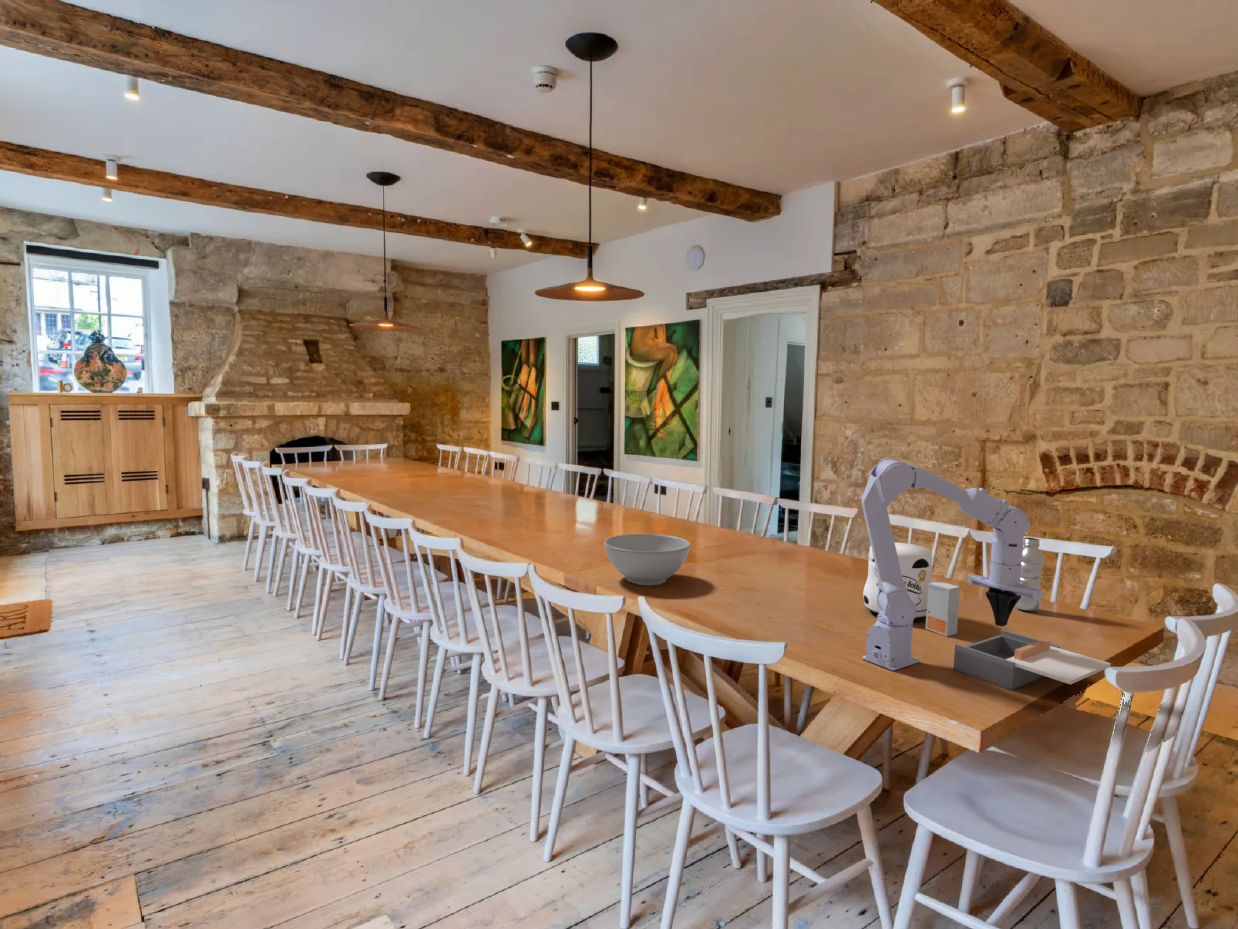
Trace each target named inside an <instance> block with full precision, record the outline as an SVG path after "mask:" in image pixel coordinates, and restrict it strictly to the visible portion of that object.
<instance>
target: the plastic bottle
mask: <svg viewBox="0 0 1238 929" xmlns="http://www.w3.org/2000/svg"><path fill="white" fill-rule="evenodd" d="M1039 547H1040V539H1039V538H1036V537H1024V539H1023V554H1022V565H1021V578H1020V584H1023V585H1026V586H1029V587H1032V588H1035V589H1038V590H1041V576H1042V571H1043V568H1044V563H1045V557H1044V554H1043V553H1042V551H1041V550H1040V549H1039ZM1041 603H1042V600H1039V601H1035V600H1032V599H1031V598H1027V597H1022V596H1021V598H1020V600H1019V601H1018V602H1017V604H1016V605H1015V607H1014V608H1016V609H1019V610H1022V611H1025V612H1037V611H1038V610H1039V609H1040V607H1041Z"/></svg>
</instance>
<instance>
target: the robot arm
mask: <svg viewBox="0 0 1238 929" xmlns="http://www.w3.org/2000/svg"><path fill="white" fill-rule="evenodd" d="M909 488H910V489H911V488H912V489H915V490H916V489H922V488H923V489H924V488H925V489H927V490H930V491H932V492H933V493H935V494H938V495H941V496H942V497H945V498H947V499H949V500H951V501H954V502H956V503H957V506H958V508H959V511H960V512H962V513H964V514H966V515H967V516H969V517H971V518H974V519H975V520H977V521H980V522H982V523H983V524H986V525H988V526H991V527H992V528H993V530H992V539H991V552H990V564H989V565H990V566H989V574H988V575H989V576H984V575H977V574H969V575H968V580H967V584H968V585H970V586H971V585H972V586H974V585H975V586H978V587H983V588H986V589H988V590H987V591H986V592H985V596H986V598H987V600H988V602H989V604H990V606H991V610H992V614H993V618H994V624H995V626H998V627H1005V626H1007V625H1008V621H1009V618H1010V616H1011V613H1013V609H1014V608H1016V607H1015V605H1016V604H1017V602H1018V601H1019V600H1020V598H1021V596H1022V597H1027V598H1031V599H1032V600H1035V601H1039V600H1041V601H1042V600H1043V593H1044V591H1043V590H1041V589H1040V590H1038V589H1035V588H1032V587H1029V586H1026V585H1023V584H1020V578H1021V565H1022V554H1023V547H1024V545H1023V543H1024V538H1025V537H1024V536H1025V534H1026V533H1027V532H1028V531H1029V530H1030V528H1031V522H1030V521H1029V520H1030V519H1029V517H1028V515H1027V513H1026V512H1025V511H1024V510H1022V509H1021V508H1018V507H1015V506H1013V505H1010V502H1009V501H1008V500H1006V499H1003V498H1002V499H998V497H994V495H993V496H992V494H989V493H988V491H989V490H987V489H984V488H983V487H979V488H976V487H972V488H967V489H965V488H962V487H960V486H959V485H956V484H955V483H953V482H952V481H951V482H950V481H948V480H947V479H945V478H943V477H941V476H939V475H937V474H935V473H934V472H931V471H930V470H927V469H925V468H921V467H918V466H916V465H912V464H909V463H906V462H903V461H899V460H897V459H895V458H884V459H882V460H880V461H878V463H877V464H876V465H875V466H874V467H873V468H872V470H870V471H869V476H868V480H867V483H866V486H865V489H864V492H863V494H862V497H861V499H860V500H861V507H862V511H863V515H864V520H865V525H866V529H867V533H868V538H869V543H870V546H871V548H872V552H873V556H874V561H875V565H876V570H877V574H878V589H879V590H878V595H877V603H878V606H879V607H880V608H881V611H880V613H879V615H878V614H877V618H876V622H875V623H874V624H873V625H872V626H870V627H869V628H868V630H867V632H866V644H865V649H866V650H865V655H863V656H862V657H861V658H862V660H865V661H867V662H870V663H873V664H876V665H878V666H880V667H883V668H886V669H888V670H890V671H896V670H900V669H902V668H905V667H908V666H912V665H915V664H918V663H920V659H918V658H916V657H913V656H912V644H913V630H914V620H915V619H914V618H915V616H916V613H917V609H916V606H915V604H914V602H913V601H912V600H911V599H910V597H909V595H908V591H907V588H906V585H905V583H904V581H903V578H902V574H901V569H900V565H899V560H898V556H897V551H896V547H895V543H896V542H895V539H894V534H893V530H892V529H893V528H892V525H891V520H890V516H889V512H888V511H889V510H888V507H889V506H890V504H891V503H892V502H893V501H894V500H895V498H896V497H898V496H899V495H901V494H902V493H904V492H906V491H907V490H909Z"/></svg>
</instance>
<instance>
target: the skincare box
mask: <svg viewBox="0 0 1238 929" xmlns="http://www.w3.org/2000/svg"><path fill="white" fill-rule="evenodd" d="M960 592H961V587H960V586H958V585H954V584H951V583H947V582H943V581H940V580H939V581H933V582H931V583H929V585H928V599H927V613H926V617H925V630H928V631H931V632H933V633H936V634H939V635H941V636H944V637H950V636H954V635H957V633H958V621H959V619H958V618H959V606H960Z"/></svg>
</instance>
